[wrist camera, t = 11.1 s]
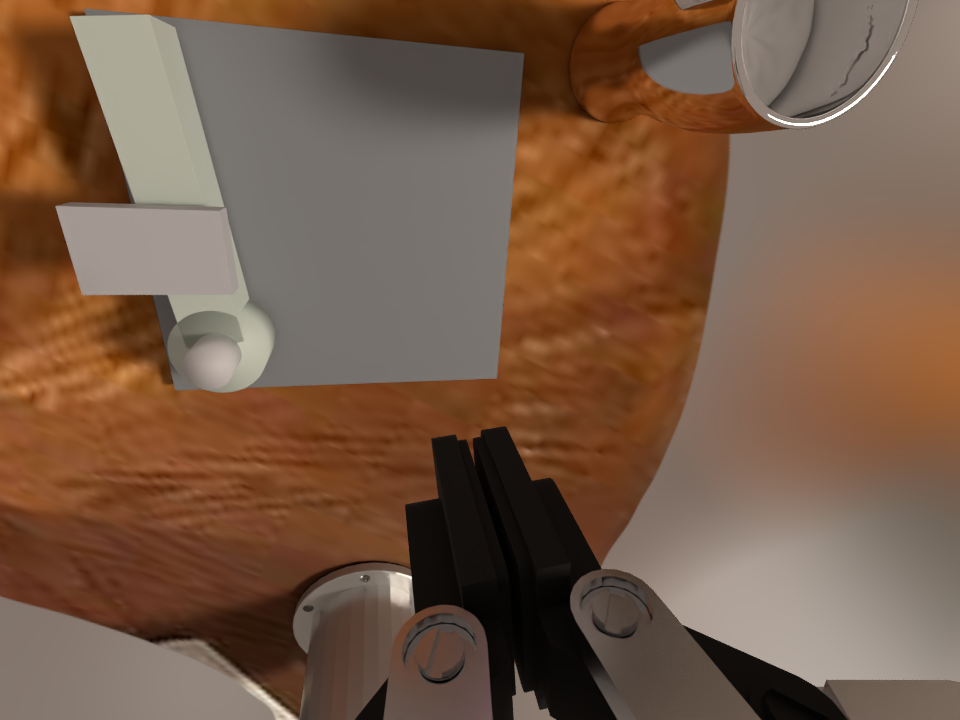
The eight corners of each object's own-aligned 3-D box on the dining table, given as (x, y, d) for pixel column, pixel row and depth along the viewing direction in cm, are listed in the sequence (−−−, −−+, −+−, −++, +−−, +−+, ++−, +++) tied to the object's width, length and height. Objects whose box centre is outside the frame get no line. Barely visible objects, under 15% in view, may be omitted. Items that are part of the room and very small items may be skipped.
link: (284, 363, 31) (268, 403, 27) (200, 374, 30) (171, 416, 26) (197, 26, 23) (155, 3, 19) (81, 29, 22) (8, 5, 18)
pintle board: (493, 372, 36) (515, 416, 30) (169, 383, 31) (125, 437, 26) (519, 55, 27) (556, 38, 22) (78, 11, 23) (-15, -25, 17)
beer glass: (538, 83, 28) (684, 47, 15) (611, -39, 26) (855, -207, 13) (622, 154, 31) (810, 176, 17) (695, 47, 29) (966, -18, 16)
